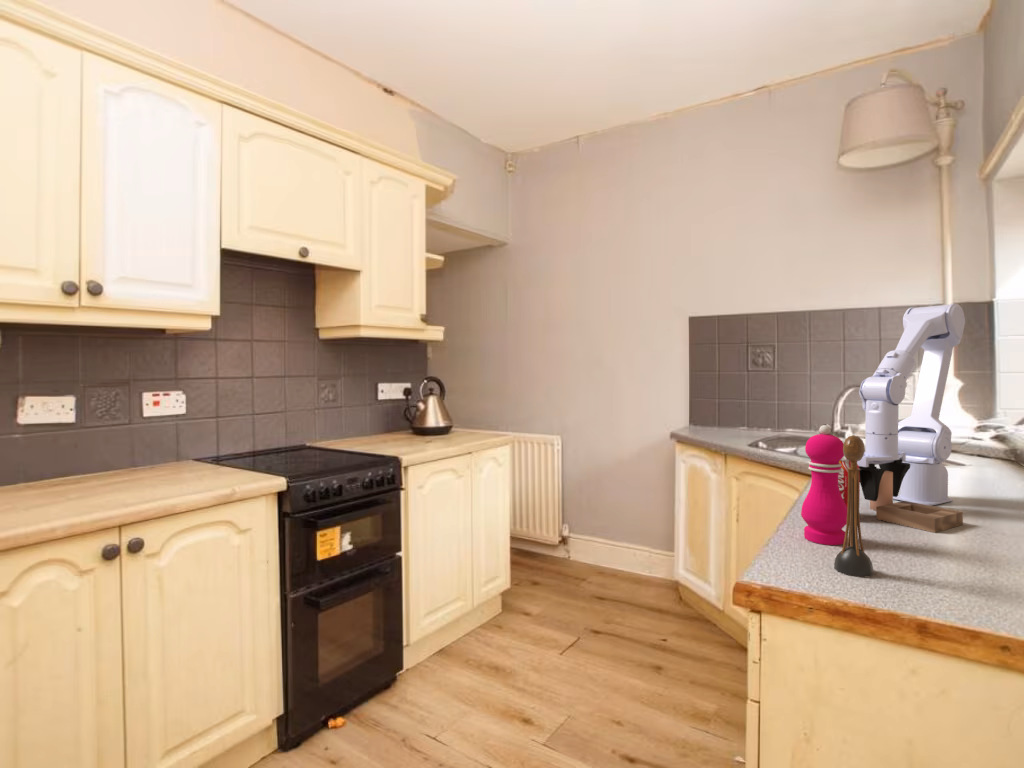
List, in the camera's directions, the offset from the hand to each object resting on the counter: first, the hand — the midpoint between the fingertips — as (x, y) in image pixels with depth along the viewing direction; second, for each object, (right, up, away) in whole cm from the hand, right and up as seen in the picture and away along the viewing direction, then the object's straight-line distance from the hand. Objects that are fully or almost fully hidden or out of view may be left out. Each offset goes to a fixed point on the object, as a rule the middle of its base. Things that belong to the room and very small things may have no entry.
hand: (881, 497), depth 115 cm
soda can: (-12, -3, -5) cm, 13 cm away
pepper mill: (-23, -3, -20) cm, 31 cm away
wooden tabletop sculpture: (-27, -4, -34) cm, 44 cm away
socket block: (+1, -3, -10) cm, 10 cm away
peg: (0, -2, 0) cm, 2 cm away
